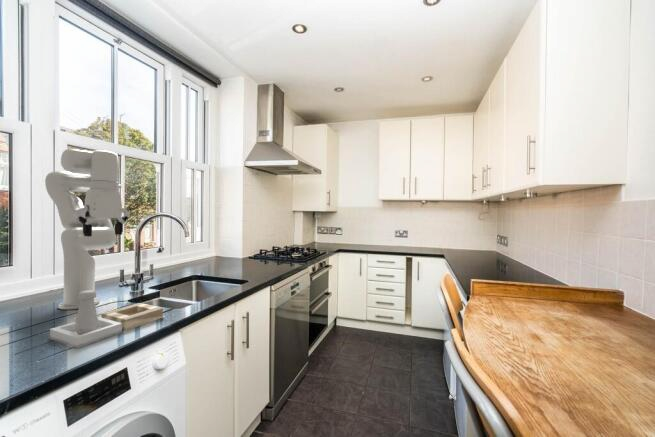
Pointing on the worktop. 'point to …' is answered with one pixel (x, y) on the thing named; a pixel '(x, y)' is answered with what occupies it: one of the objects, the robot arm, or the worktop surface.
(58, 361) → the worktop surface
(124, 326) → the birch holder
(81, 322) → the salt shaker
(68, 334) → the grey tray
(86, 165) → the robot arm
